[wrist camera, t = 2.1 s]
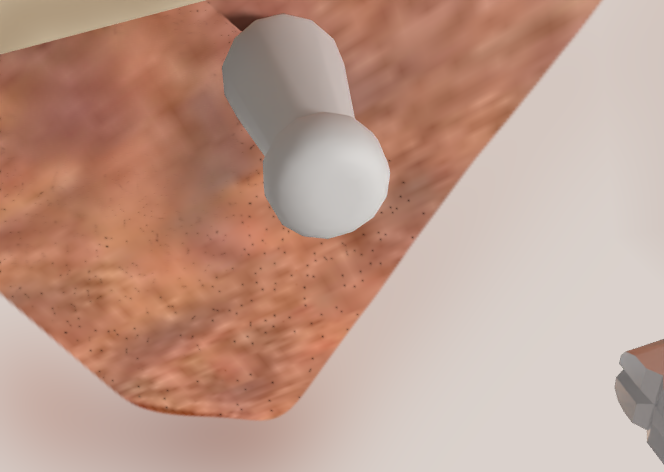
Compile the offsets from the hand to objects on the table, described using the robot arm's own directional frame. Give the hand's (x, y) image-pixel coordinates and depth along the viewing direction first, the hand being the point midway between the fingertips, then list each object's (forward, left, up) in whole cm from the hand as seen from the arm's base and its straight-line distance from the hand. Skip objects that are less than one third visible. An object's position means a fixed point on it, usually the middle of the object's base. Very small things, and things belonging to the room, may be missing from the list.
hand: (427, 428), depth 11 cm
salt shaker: (0, 0, -22) cm, 22 cm away
